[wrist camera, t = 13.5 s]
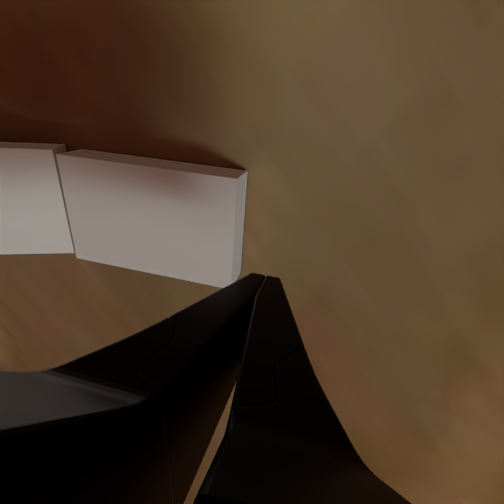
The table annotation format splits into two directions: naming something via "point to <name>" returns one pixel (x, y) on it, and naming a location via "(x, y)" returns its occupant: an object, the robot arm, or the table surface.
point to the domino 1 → (32, 200)
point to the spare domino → (156, 214)
